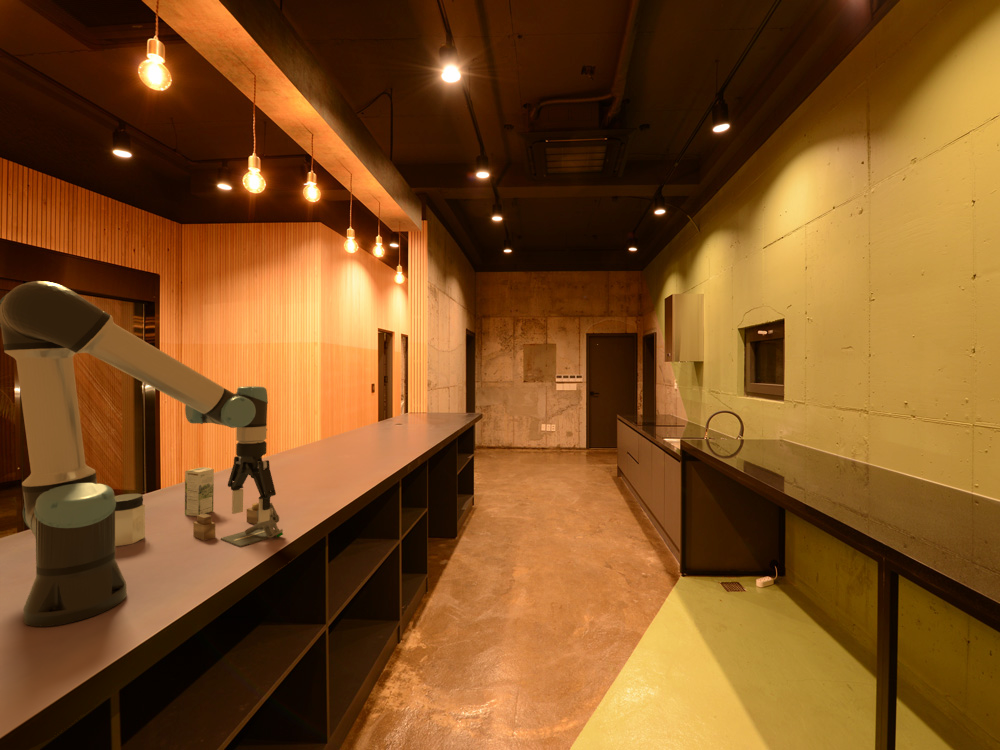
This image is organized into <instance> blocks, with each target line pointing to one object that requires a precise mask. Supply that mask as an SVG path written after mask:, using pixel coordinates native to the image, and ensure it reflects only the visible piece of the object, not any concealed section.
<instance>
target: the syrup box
mask: <svg viewBox="0 0 1000 750" xmlns="http://www.w3.org/2000/svg"><path fill="white" fill-rule="evenodd" d="M214 471H215V470H214V469H213V468H211V467H204V466H203V467H198V468H197V467H196V468H193V469H188V470H185V471H184V515H185V516H191V517H197V515H201V514H207V515H208V514H209V513H212V512H214V488H215V487H214V485H215V484H214V482H215V481H214V480H215V479H214V478H215V476H214V475H215V472H214Z"/></svg>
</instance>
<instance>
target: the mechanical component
mask: <svg viewBox="0 0 1000 750" xmlns="http://www.w3.org/2000/svg"><path fill="white" fill-rule="evenodd" d="M256 514H257V517H259V510H257V512H256ZM279 522H280V515H279V514H278V512H277V511H276V509H275V507H274V505H273V502H270V520H269V521H265V522H261V523H259V522H257V524H256V525H255V524H253V526H250V527H248V528H247V529H245V530H244V531H245V533H246V534H250V533H252V532H254V531H256V530H258V529H259V530H263V529H264V531H265V533H266V535H267V537H269V538H268V539H270V538H274V537H277V538H279V537H281V536H284V533H281V532H283V531H284V530H283V528H281V529H279V527H278V526H277V523H279ZM277 534H278V535H277ZM275 535H277V536H275ZM273 536H274V537H273Z"/></svg>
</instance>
